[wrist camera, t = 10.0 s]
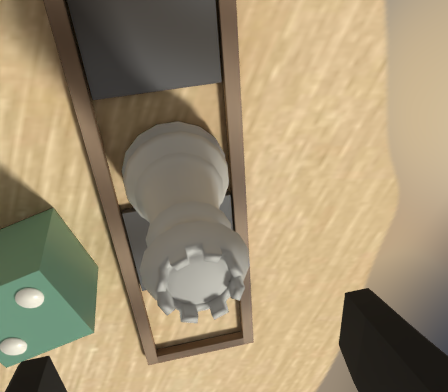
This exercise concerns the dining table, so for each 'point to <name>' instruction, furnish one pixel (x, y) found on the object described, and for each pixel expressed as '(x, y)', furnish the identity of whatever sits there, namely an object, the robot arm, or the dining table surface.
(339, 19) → the dining table surface
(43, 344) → the green die
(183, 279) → the rook chess piece
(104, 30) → the track board
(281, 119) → the dining table surface
